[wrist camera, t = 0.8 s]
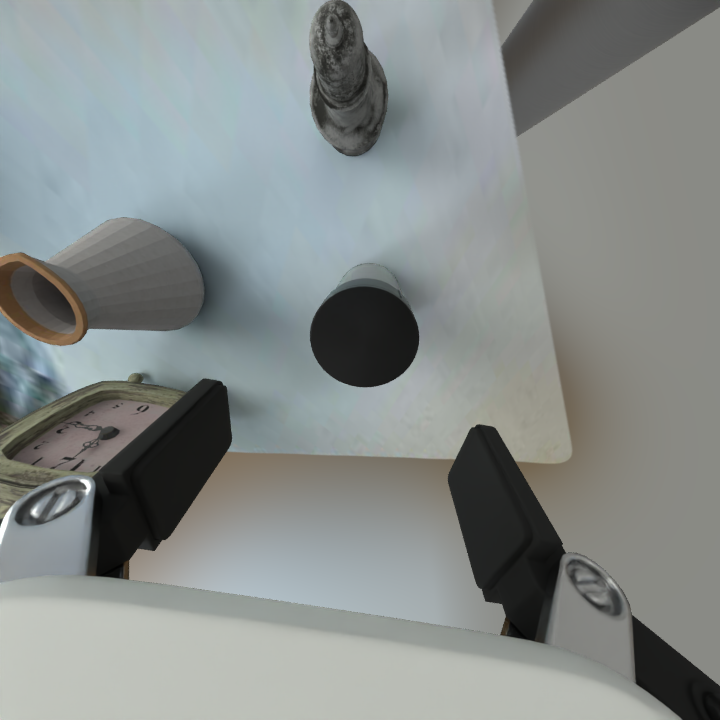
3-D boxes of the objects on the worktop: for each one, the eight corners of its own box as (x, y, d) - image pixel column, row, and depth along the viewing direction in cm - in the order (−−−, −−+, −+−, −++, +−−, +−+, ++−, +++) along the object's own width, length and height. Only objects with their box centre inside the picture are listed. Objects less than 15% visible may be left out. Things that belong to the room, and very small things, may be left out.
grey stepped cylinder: (400, 113, 22) (423, 6, 11) (355, 176, 24) (338, 136, 13) (349, 48, 20) (318, -148, 10) (305, 122, 22) (242, 28, 12)
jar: (364, 248, 27) (356, 263, 16) (413, 292, 29) (437, 332, 18) (325, 300, 30) (295, 344, 19) (372, 337, 32) (370, 397, 21)
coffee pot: (216, 234, 27) (63, 242, 14) (217, 332, 32) (107, 405, 19) (4, 176, 26) (-390, 123, 13) (42, 288, 31) (-207, 334, 18)
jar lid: (358, 254, 18) (355, 258, 15) (435, 320, 20) (443, 335, 17) (300, 332, 21) (289, 347, 18) (371, 383, 23) (370, 404, 20)
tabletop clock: (228, 381, 36) (-10, 629, 14) (232, 428, 40) (54, 677, 18) (124, 362, 35) (-294, 587, 13) (139, 412, 40) (-160, 646, 18)
